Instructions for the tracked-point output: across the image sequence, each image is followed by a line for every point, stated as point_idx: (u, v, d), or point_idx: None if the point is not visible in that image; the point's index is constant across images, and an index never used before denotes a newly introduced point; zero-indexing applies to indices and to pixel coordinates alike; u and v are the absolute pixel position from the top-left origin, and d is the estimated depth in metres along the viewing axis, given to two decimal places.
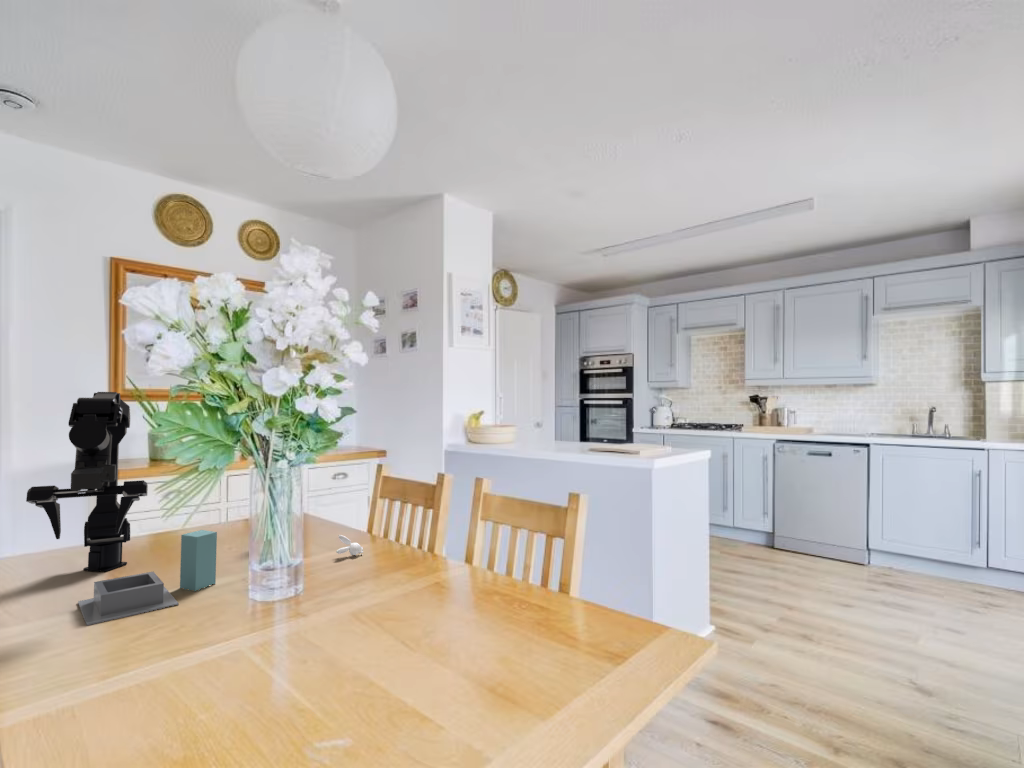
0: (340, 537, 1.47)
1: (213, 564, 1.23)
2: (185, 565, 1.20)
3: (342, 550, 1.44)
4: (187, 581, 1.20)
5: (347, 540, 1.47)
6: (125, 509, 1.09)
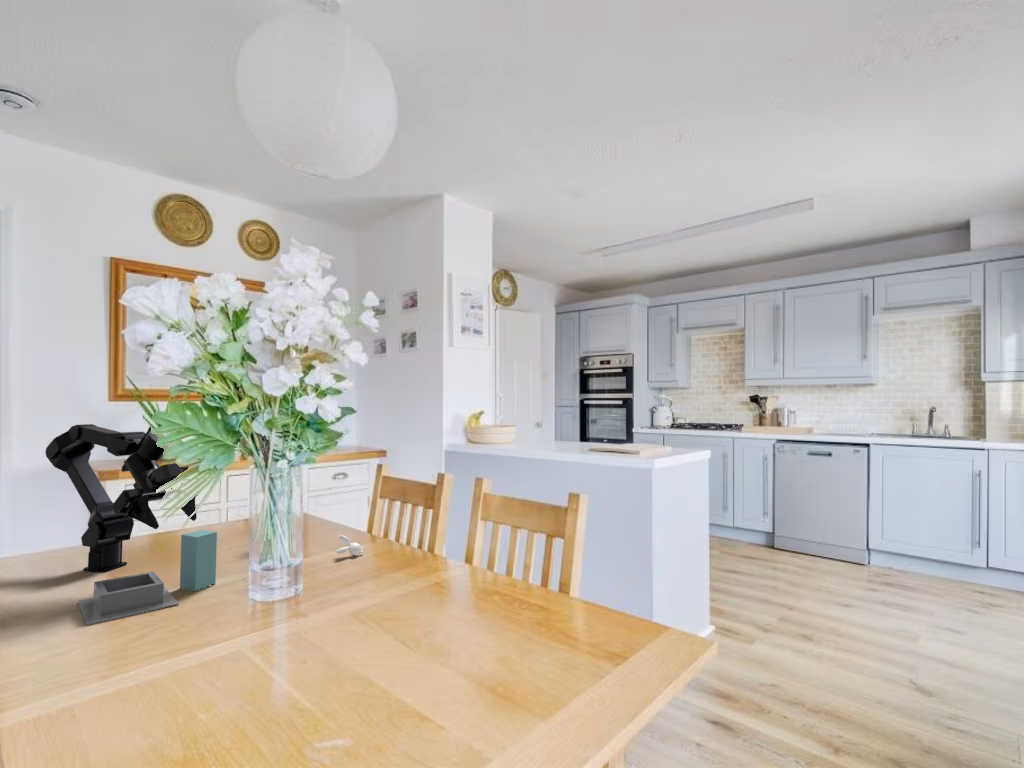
0: (340, 537, 1.47)
1: (213, 564, 1.23)
2: (185, 565, 1.20)
3: (342, 550, 1.44)
4: (187, 581, 1.20)
5: (347, 540, 1.47)
6: (194, 500, 1.32)
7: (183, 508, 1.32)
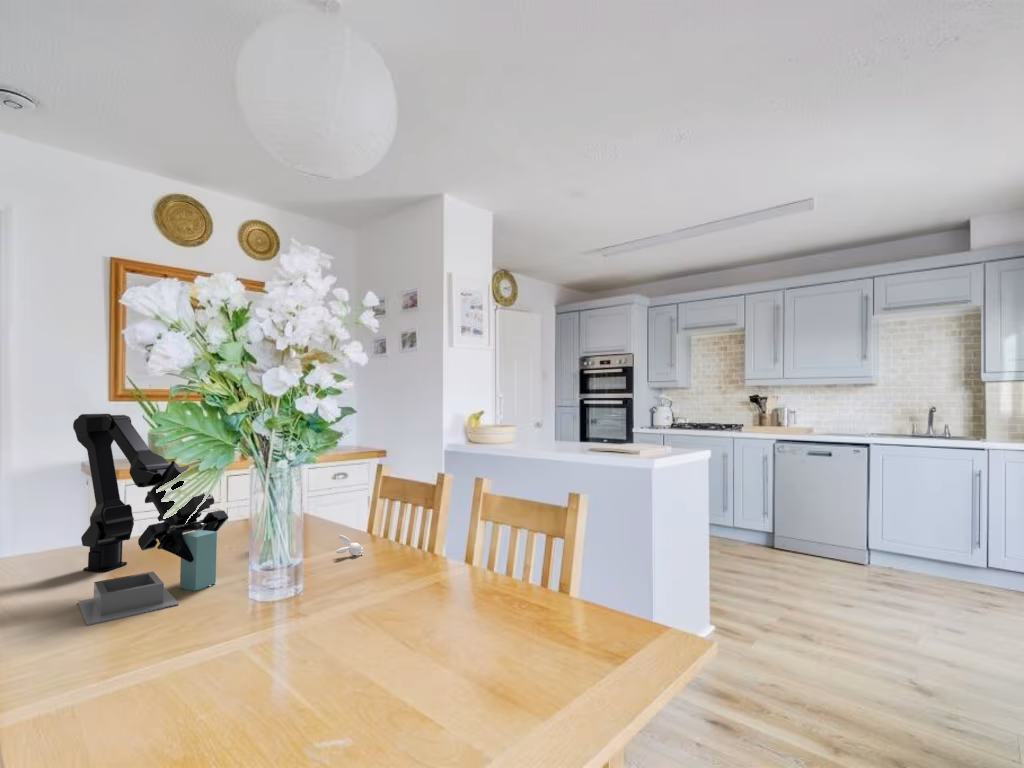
0: (340, 537, 1.47)
1: (213, 564, 1.23)
2: (185, 565, 1.20)
3: (342, 550, 1.44)
4: (187, 581, 1.20)
5: (347, 540, 1.47)
6: None
7: None
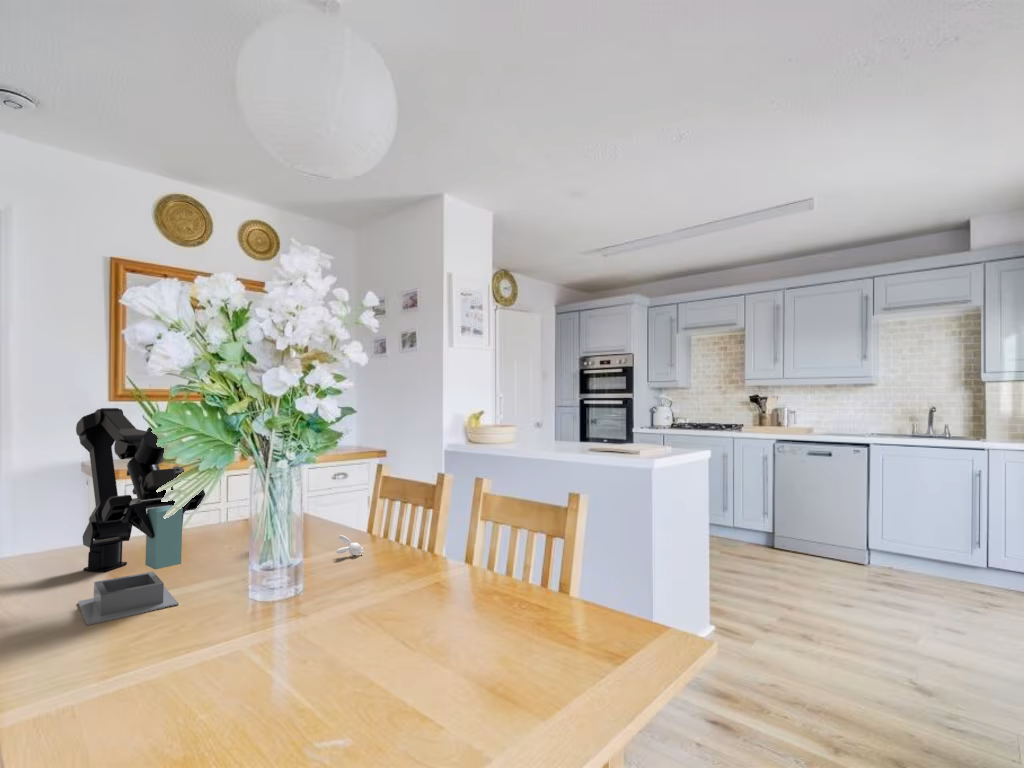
0: (340, 537, 1.47)
1: (178, 542, 1.16)
2: (149, 541, 1.15)
3: (342, 550, 1.44)
4: (150, 558, 1.14)
5: (347, 540, 1.47)
6: None
7: None
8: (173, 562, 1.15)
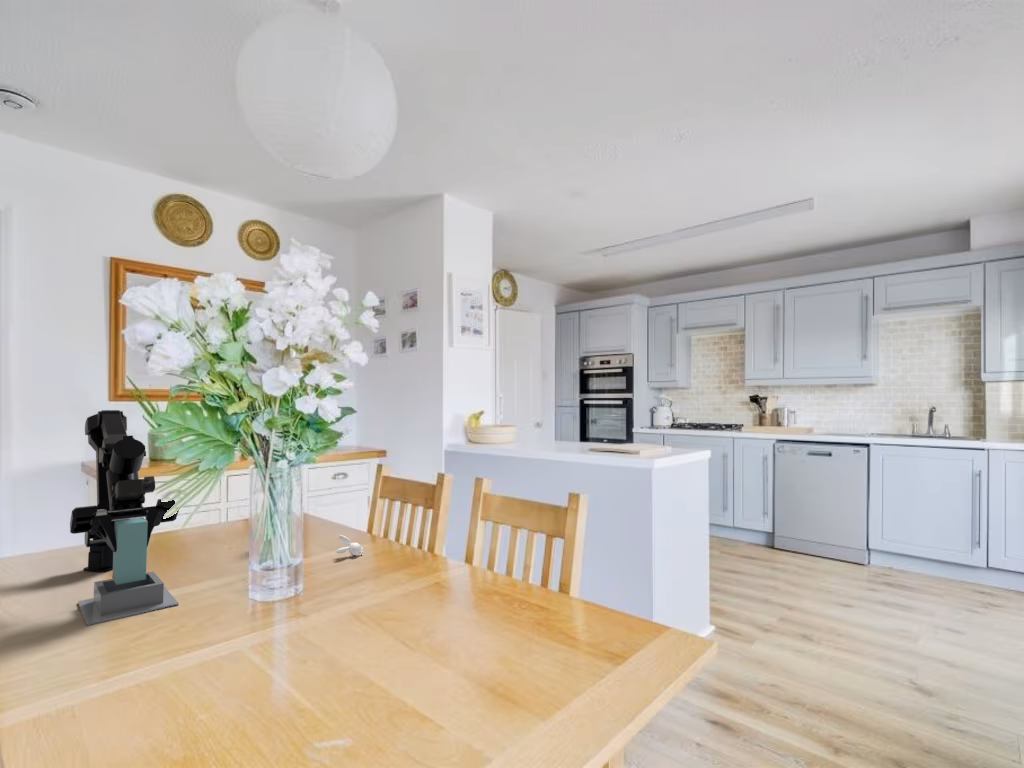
0: (340, 537, 1.47)
1: (142, 557, 1.11)
2: (114, 554, 1.11)
3: (342, 550, 1.44)
4: (114, 572, 1.10)
5: (347, 540, 1.47)
6: (152, 523, 1.15)
7: None
8: (137, 577, 1.10)
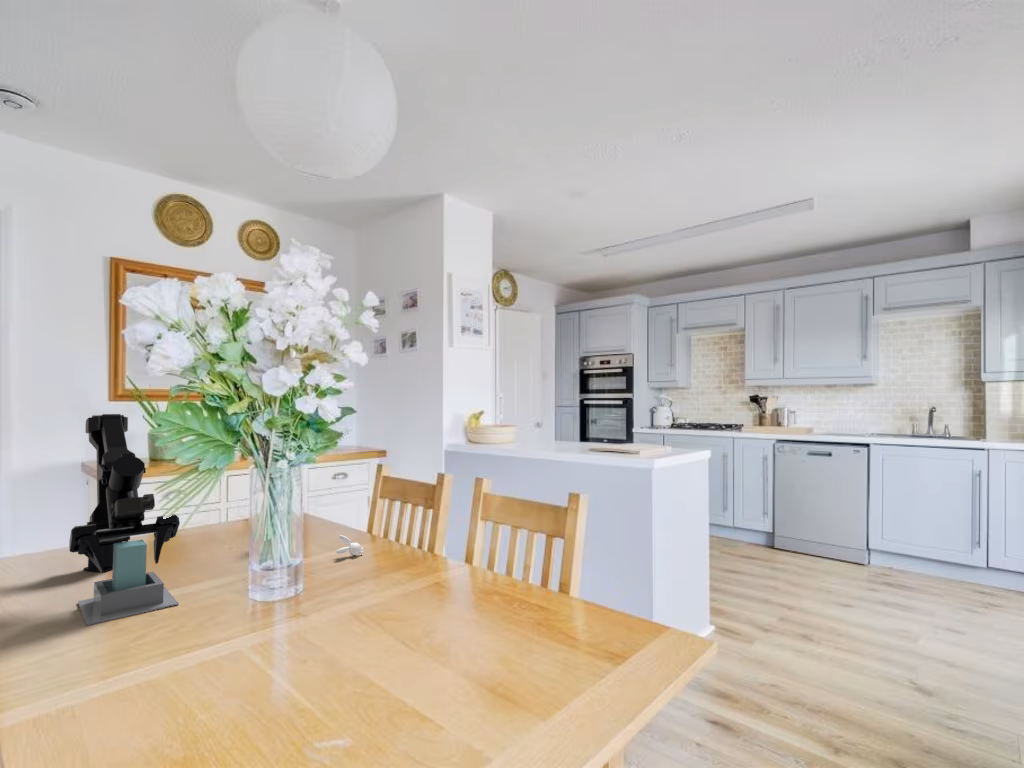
0: (340, 537, 1.47)
1: (141, 580, 1.11)
2: (113, 577, 1.10)
3: (342, 550, 1.44)
4: None
5: (347, 540, 1.47)
6: (162, 539, 1.16)
7: (154, 547, 1.17)
8: None
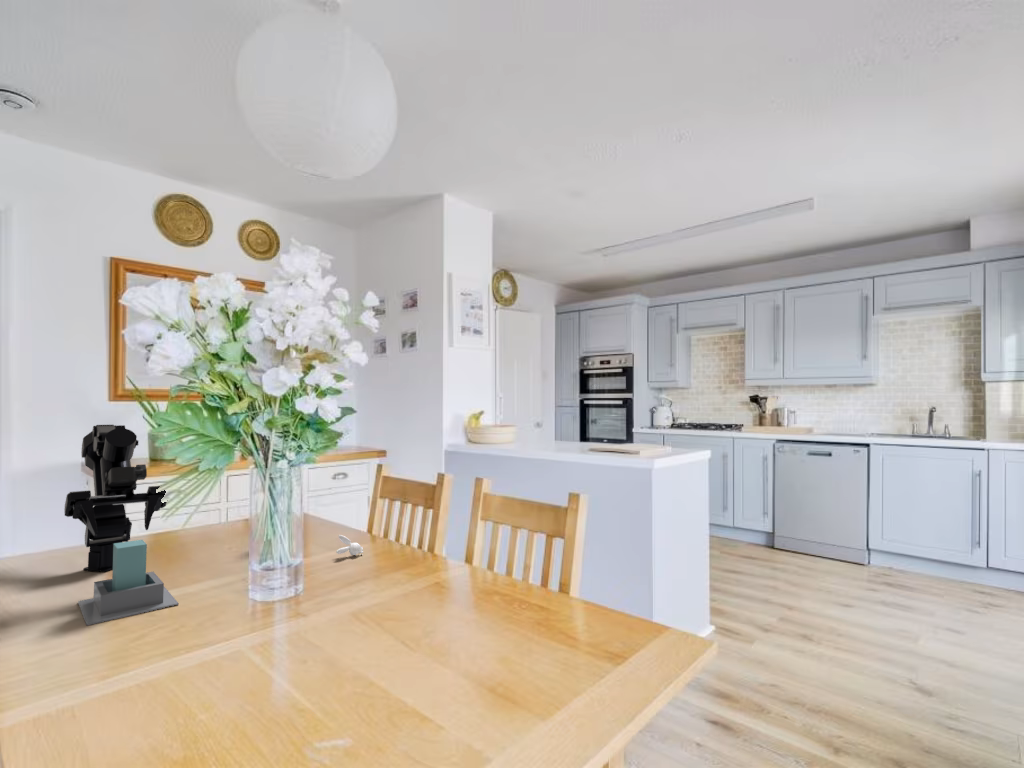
0: (340, 537, 1.47)
1: (141, 580, 1.11)
2: (113, 577, 1.10)
3: (342, 550, 1.44)
4: None
5: (347, 540, 1.47)
6: (153, 508, 1.23)
7: (145, 515, 1.24)
8: None
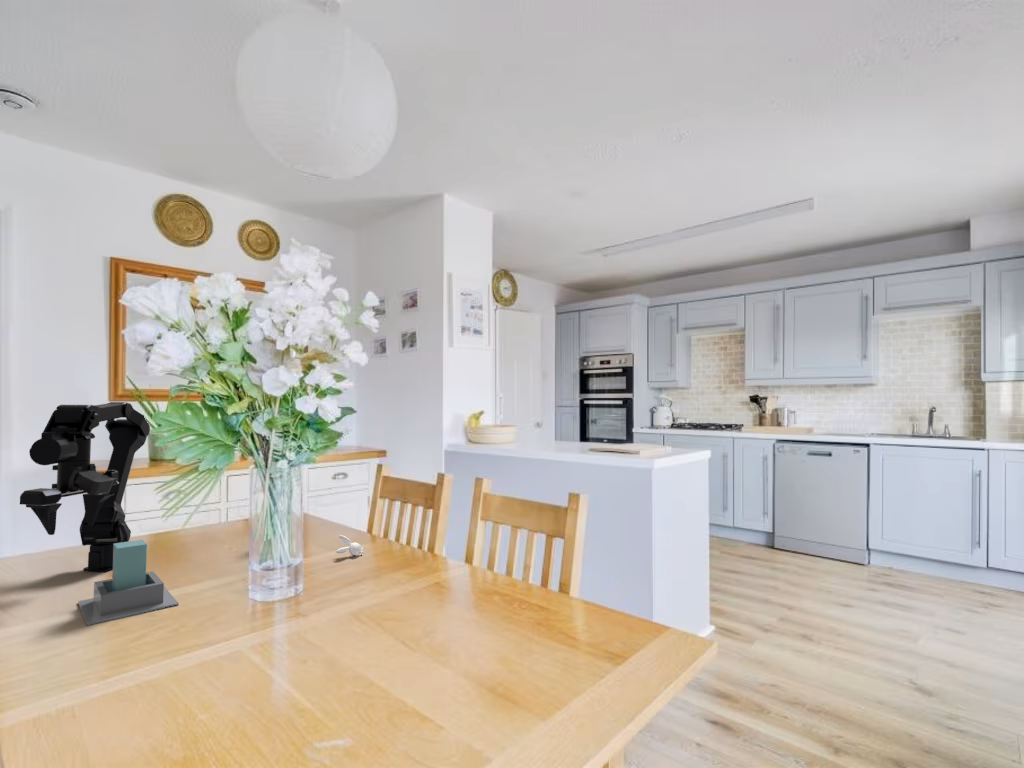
0: (340, 537, 1.47)
1: (141, 580, 1.11)
2: (113, 577, 1.10)
3: (342, 550, 1.44)
4: None
5: (347, 540, 1.47)
6: (101, 504, 1.26)
7: (86, 504, 1.26)
8: None
